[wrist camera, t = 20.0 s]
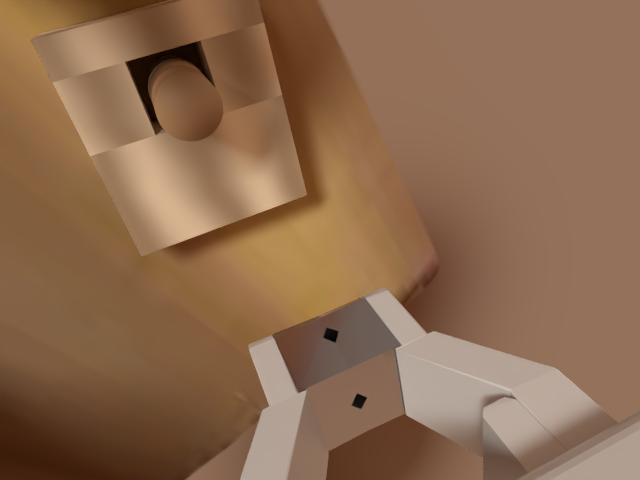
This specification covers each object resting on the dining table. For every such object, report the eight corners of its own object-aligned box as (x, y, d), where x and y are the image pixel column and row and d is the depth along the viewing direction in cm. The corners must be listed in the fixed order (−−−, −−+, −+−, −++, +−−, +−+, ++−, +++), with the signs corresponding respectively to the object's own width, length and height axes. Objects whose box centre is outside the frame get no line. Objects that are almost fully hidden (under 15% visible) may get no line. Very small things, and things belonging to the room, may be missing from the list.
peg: (156, 111, 36) (169, 151, 28) (135, 59, 34) (142, 85, 25) (206, 96, 36) (232, 130, 28) (188, 44, 34) (211, 64, 26)
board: (139, 233, 40) (141, 256, 36) (39, 33, 31) (30, 40, 28) (292, 178, 42) (307, 195, 39) (240, -19, 34) (253, -19, 30)
